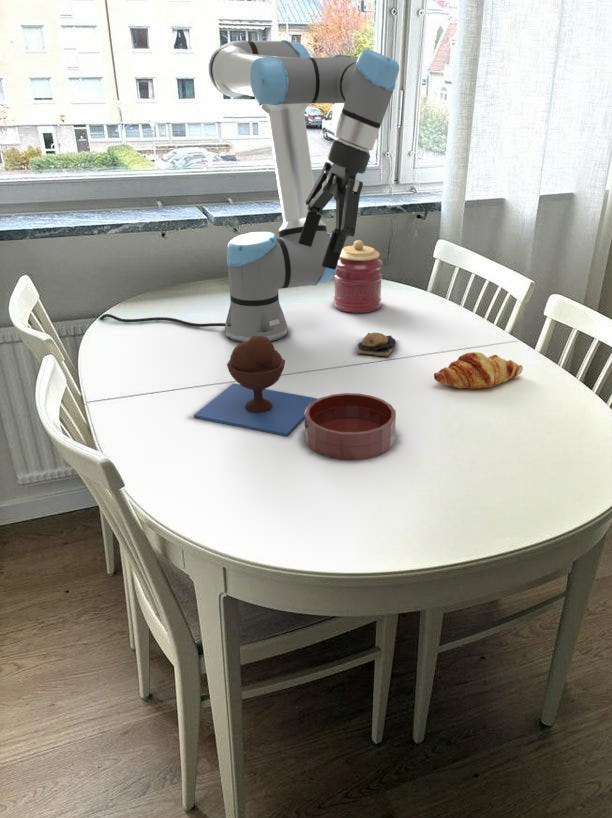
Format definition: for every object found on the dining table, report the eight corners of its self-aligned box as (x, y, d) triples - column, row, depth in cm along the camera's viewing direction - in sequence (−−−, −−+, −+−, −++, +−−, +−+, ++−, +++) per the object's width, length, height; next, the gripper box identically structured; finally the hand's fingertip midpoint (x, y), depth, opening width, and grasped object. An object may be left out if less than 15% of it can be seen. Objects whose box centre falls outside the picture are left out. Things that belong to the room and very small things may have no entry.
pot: (290, 449, 132) (289, 424, 129) (326, 411, 145) (325, 387, 142) (377, 467, 127) (378, 441, 124) (405, 426, 140) (407, 401, 137)
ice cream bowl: (290, 396, 149) (287, 326, 141) (279, 421, 140) (276, 347, 132) (239, 393, 150) (234, 323, 142) (225, 417, 140) (219, 344, 132)
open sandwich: (389, 358, 169) (390, 343, 167) (354, 354, 170) (354, 339, 168) (398, 342, 178) (399, 327, 176) (364, 338, 179) (365, 324, 177)
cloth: (193, 417, 141) (193, 414, 141) (233, 385, 154) (233, 383, 154) (287, 436, 136) (287, 433, 135) (320, 401, 149) (320, 399, 148)
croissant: (511, 384, 165) (508, 349, 165) (536, 381, 156) (532, 343, 155) (427, 395, 159) (423, 358, 158) (447, 392, 149) (443, 353, 148)
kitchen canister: (339, 296, 206) (339, 232, 197) (384, 300, 204) (387, 236, 195) (328, 311, 195) (328, 244, 186) (376, 315, 193) (378, 248, 184)
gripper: (398, 167, 127) (356, 282, 137) (344, 137, 146) (311, 240, 155) (361, 154, 124) (321, 273, 133) (311, 125, 142) (279, 231, 151)
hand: (316, 256), depth 144 cm, fingers open, 13 cm apart
